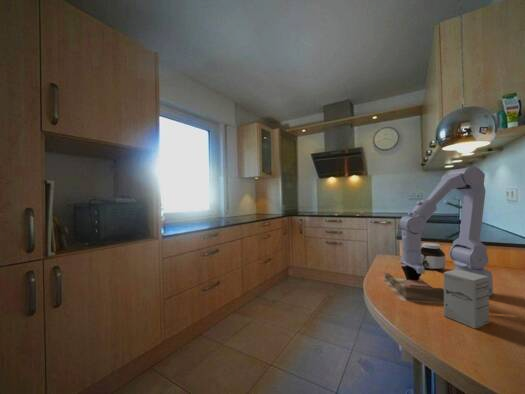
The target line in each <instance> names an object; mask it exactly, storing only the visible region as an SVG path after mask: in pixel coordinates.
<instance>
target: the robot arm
mask: <svg viewBox="0 0 525 394" xmlns="http://www.w3.org/2000/svg"><path fill="white" fill-rule="evenodd" d="M485 178H486V173H484V171H483V170H482V169H480V168H479V167H477V166H472V165H471V166H468V167H463V168H456V169H449V170H447V171H446V172H445V173H444V174H443V175H442V176H441V179H440V181H439V183H437V185H436V186H435V188H433V190H432V191H431V193H430V194H429V195H428V196H427V198H426V199H420V201H419V200H417V202H415V206H414V207H413V208H412V209H411V210H410V211H408V212H407V215H405V216H402V217H401V218H400V219H399V222H398V223H397V226H398V228H399V229H400V231H401V251H402V252H401V253H402V254H401V255H402V256H400V260H398V263H399V264H400V265H402V266H401V267H400V268H401V270H402V271H403V274H404V277H405V279H406V280H419V278H421V275H425V271H426V270H425V268H424V267H423V265H422V263H421V248H422V237H421V236H422V232H423V231H424V230H425V229H426V223H427V221H428V220H429V219H430V217H432V216H433V215H434V213H435V212H436V211H437V205H438V203H440V202H441V201H442V200H443V199H444V198H445V197H446V196H447V195H448V194H449V193H450V192H451V191H452V190H456V191H458V192H460V193H461V194H462V195H463V202H462V211H461V219H460V220H461V221H460V228H459V235H458V238H456V239H455V240H453V241H452V246H451V247H450V248H449V253H448V254H449V258H450V259H451V260H452V261H453V264H454V270H455V269H459V270H463V271H467V272H471V273H475V274H479V275H484V276H488V277H489V297H490V296H493V295H495V293H494V287H493V285H494V283H493V282H494V280H493V274H492V272H491V271H490V270H489V269H488V270H487V269H485V267H486V266H487V265H488V263H489V257H488V253H487V250H488V248H487V246H486V245H485V244H484V243H483V242H481V240H480V239H481V234H482V233H481V232H482V231H481V230H482V223H483V215H484V207H485V201H486V200H485V198H486V187H485Z"/></svg>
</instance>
